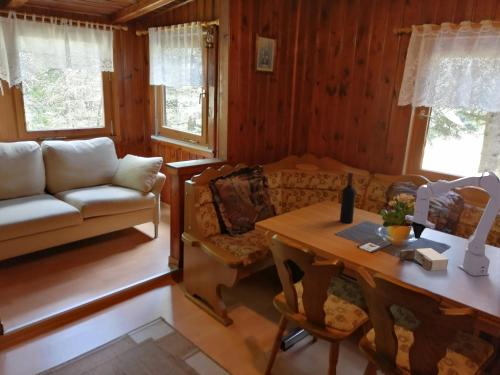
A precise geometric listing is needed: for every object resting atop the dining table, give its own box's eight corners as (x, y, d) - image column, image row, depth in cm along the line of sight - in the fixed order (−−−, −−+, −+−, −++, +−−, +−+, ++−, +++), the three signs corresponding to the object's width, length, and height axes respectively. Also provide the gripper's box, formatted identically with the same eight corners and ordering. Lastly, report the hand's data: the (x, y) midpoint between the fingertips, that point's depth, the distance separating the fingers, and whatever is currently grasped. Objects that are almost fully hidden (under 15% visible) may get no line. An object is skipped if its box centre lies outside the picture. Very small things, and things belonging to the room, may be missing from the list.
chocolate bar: (392, 243, 191) (372, 252, 180) (392, 245, 191) (372, 253, 180) (376, 237, 197) (357, 246, 186) (376, 239, 198) (356, 247, 186)
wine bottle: (337, 220, 225) (341, 172, 217) (347, 218, 228) (351, 171, 220) (345, 224, 218) (349, 175, 211) (355, 222, 221) (360, 174, 214)
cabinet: (446, 269, 165) (448, 259, 163) (426, 270, 163) (428, 260, 161) (429, 257, 176) (430, 248, 175) (410, 259, 174) (411, 249, 173)
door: (399, 260, 172) (401, 251, 171) (398, 259, 173) (399, 250, 172) (414, 259, 174) (415, 249, 173) (413, 258, 175) (414, 248, 174)
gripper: (441, 214, 166) (436, 242, 170) (413, 205, 179) (409, 231, 182) (431, 216, 163) (426, 245, 167) (403, 207, 175) (399, 233, 179)
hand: (417, 238), depth 174 cm, fingers closed
